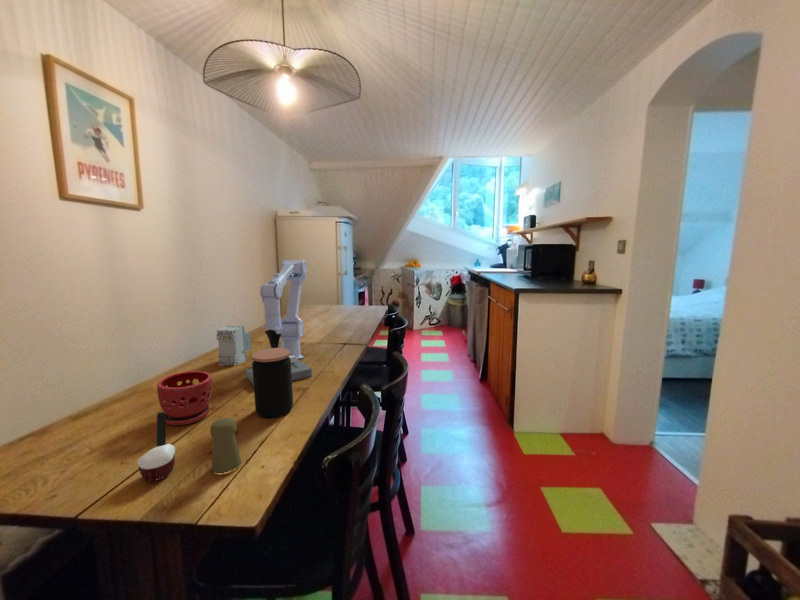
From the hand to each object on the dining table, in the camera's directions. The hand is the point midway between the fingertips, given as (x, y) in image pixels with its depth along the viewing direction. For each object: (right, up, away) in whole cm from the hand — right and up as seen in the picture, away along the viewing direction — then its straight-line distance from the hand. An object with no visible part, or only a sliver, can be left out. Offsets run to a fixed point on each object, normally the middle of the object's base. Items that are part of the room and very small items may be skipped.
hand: (274, 348), depth 132 cm
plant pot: (-12, -15, -35) cm, 40 cm away
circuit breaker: (-22, -7, +15) cm, 27 cm away
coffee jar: (+12, -15, -31) cm, 36 cm away
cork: (+10, -19, -57) cm, 61 cm away
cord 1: (-8, -10, 0) cm, 13 cm away
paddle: (+6, -6, +1) cm, 9 cm away
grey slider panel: (+3, -10, -5) cm, 12 cm away
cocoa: (-3, -19, -59) cm, 62 cm away
